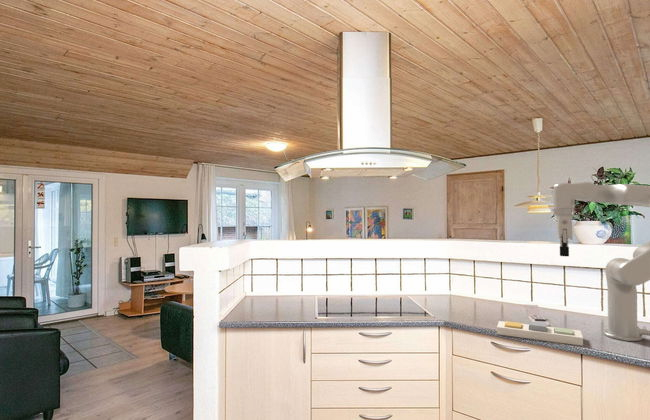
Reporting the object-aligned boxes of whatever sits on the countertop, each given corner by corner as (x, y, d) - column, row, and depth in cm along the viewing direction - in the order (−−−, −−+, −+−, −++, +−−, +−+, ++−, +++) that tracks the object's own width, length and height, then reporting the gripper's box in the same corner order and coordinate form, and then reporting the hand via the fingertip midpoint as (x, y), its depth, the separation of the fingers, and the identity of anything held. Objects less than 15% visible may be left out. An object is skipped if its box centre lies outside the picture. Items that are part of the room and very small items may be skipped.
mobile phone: (537, 304, 188) (551, 318, 164) (538, 316, 188) (552, 332, 164) (523, 304, 190) (535, 317, 166) (524, 316, 190) (536, 331, 166)
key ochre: (521, 328, 164) (521, 323, 164) (521, 332, 159) (521, 326, 159) (506, 327, 167) (506, 321, 167) (505, 330, 162) (505, 324, 162)
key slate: (546, 329, 160) (546, 322, 160) (546, 333, 155) (546, 326, 155) (529, 327, 163) (529, 321, 163) (529, 330, 158) (529, 324, 158)
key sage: (572, 335, 156) (572, 329, 156) (573, 339, 150) (573, 333, 150) (554, 333, 158) (554, 326, 158) (555, 337, 153) (555, 331, 153)
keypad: (580, 338, 156) (580, 330, 156) (583, 345, 147) (583, 337, 147) (499, 327, 170) (499, 320, 170) (496, 334, 162) (496, 327, 162)
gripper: (575, 212, 155) (576, 258, 155) (573, 212, 168) (573, 254, 168) (554, 212, 159) (554, 257, 159) (553, 212, 172) (553, 253, 172)
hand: (564, 255), depth 164 cm, fingers closed
